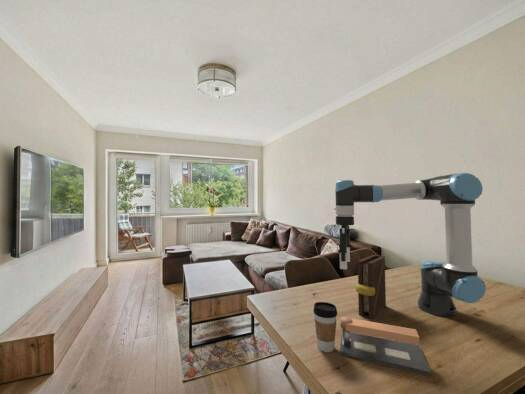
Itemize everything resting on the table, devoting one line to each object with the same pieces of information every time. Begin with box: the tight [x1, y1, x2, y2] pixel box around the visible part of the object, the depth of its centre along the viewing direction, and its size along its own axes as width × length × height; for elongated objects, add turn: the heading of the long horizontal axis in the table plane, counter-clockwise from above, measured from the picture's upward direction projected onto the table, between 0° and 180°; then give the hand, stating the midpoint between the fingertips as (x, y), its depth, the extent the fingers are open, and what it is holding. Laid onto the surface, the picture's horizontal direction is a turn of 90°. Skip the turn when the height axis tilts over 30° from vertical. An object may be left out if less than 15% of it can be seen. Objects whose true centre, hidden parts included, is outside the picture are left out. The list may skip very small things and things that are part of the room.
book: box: [355, 254, 387, 320], centre depth 112 cm, size 22×8×25 cm, turn 134°
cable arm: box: [339, 316, 421, 346], centre depth 80 cm, size 24×5×3 cm, turn 67°
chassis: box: [339, 328, 431, 377], centre depth 81 cm, size 26×14×7 cm, turn 67°
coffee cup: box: [313, 301, 338, 353], centre depth 84 cm, size 8×8×15 cm
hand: (345, 265), depth 100 cm, fingers open, 13 cm apart
